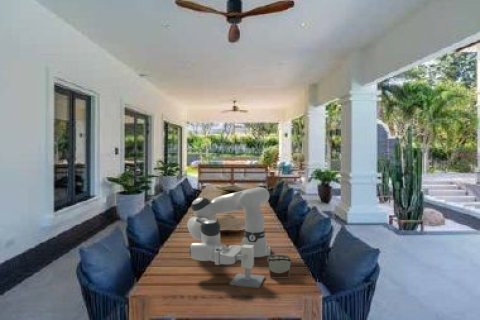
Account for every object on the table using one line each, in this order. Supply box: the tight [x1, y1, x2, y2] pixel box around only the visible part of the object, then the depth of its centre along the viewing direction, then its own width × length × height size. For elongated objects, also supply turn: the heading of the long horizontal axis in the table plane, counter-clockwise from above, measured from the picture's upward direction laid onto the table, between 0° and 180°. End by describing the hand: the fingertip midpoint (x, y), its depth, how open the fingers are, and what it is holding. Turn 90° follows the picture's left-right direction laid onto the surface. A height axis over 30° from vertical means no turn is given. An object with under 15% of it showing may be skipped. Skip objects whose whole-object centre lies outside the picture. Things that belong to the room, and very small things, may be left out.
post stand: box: [229, 268, 266, 289], centre depth 200 cm, size 14×14×8 cm
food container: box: [267, 254, 293, 279], centre depth 208 cm, size 12×6×10 cm, turn 92°
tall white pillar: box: [240, 245, 255, 269], centre depth 199 cm, size 5×5×10 cm
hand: (248, 255), depth 199 cm, fingers closed on tall white pillar, 5 cm apart
